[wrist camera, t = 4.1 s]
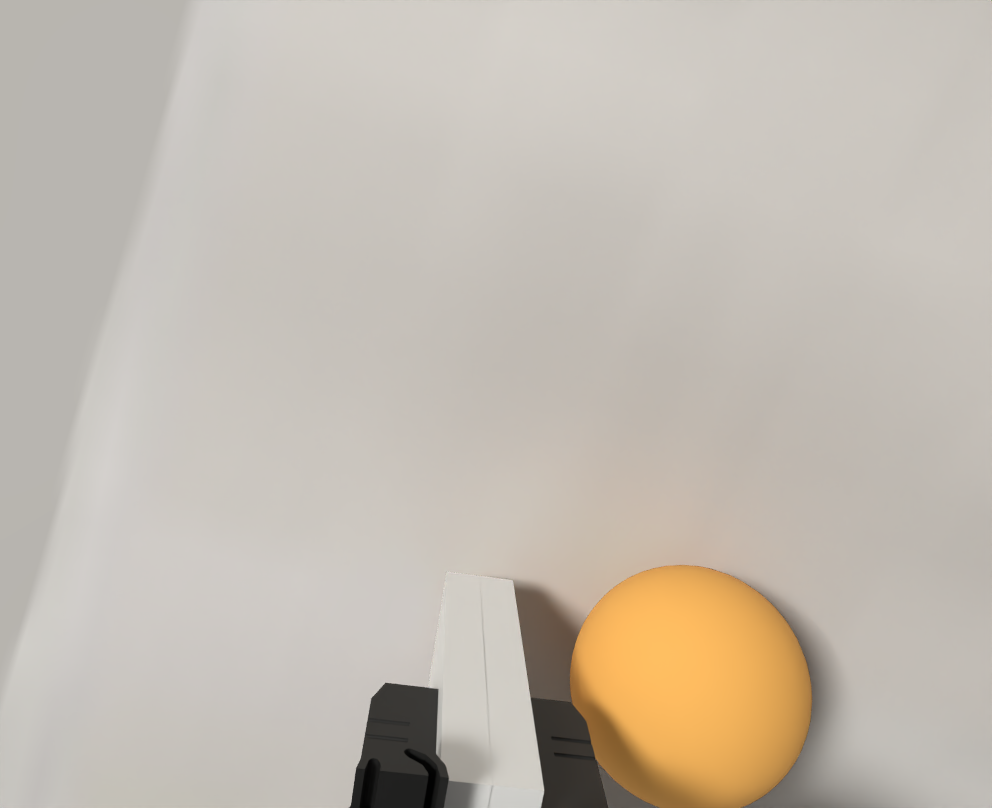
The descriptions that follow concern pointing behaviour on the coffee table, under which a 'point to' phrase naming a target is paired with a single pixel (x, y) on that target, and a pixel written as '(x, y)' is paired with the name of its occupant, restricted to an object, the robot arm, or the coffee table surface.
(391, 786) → the robot arm
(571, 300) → the coffee table surface
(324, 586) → the coffee table surface
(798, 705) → the ball
